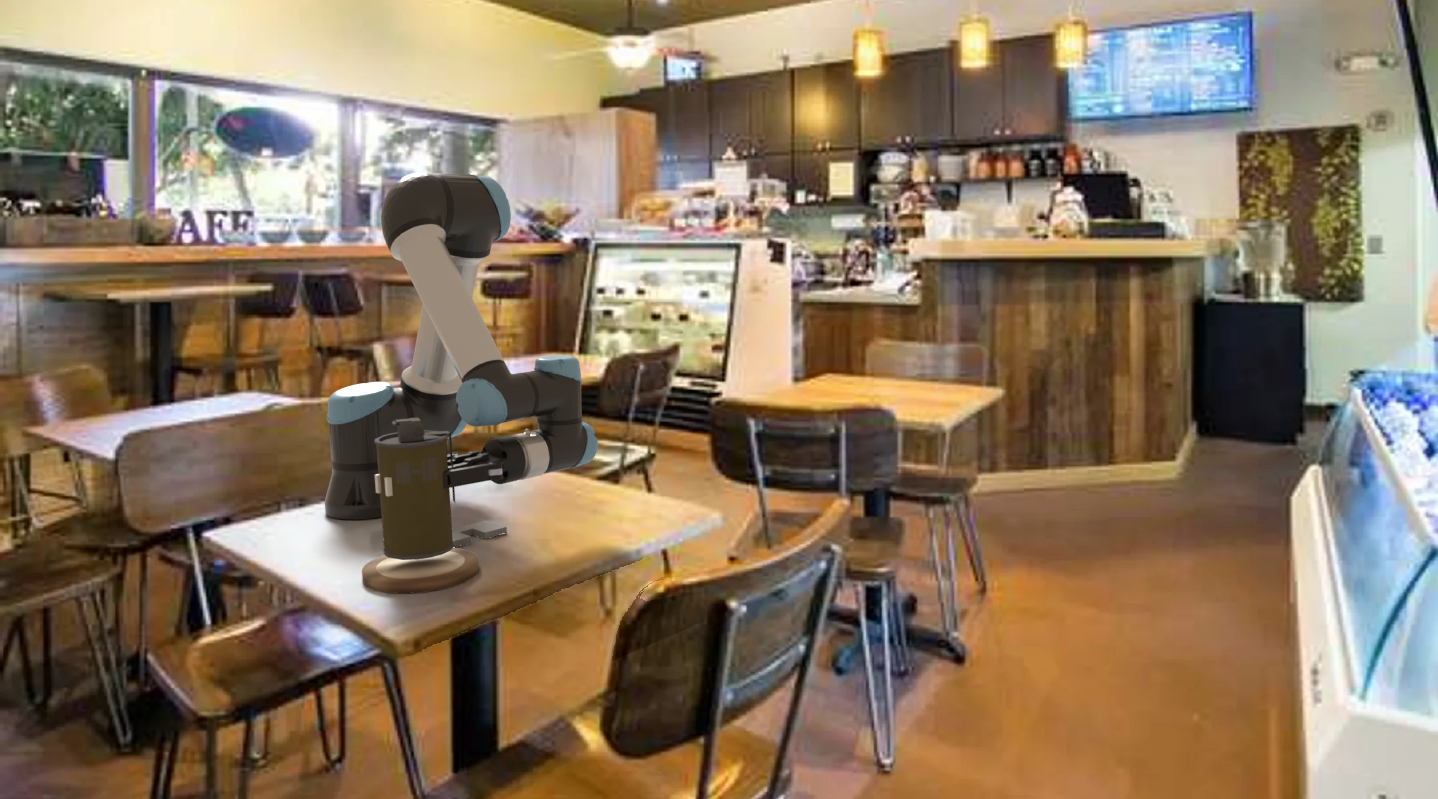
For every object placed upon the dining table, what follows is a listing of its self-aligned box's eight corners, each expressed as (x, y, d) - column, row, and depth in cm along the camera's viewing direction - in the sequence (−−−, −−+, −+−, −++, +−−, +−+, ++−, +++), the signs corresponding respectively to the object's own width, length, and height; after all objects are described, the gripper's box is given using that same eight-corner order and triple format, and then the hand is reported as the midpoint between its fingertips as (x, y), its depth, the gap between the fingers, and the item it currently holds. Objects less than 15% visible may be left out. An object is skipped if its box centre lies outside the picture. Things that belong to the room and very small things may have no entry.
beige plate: (341, 575, 152) (340, 565, 152) (439, 548, 164) (439, 539, 164) (400, 602, 140) (399, 591, 140) (500, 571, 153) (500, 561, 153)
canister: (386, 564, 145) (376, 428, 141) (379, 544, 154) (370, 417, 151) (462, 553, 149) (454, 422, 146) (451, 535, 158) (443, 411, 155)
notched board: (428, 542, 168) (428, 535, 167) (486, 526, 176) (486, 520, 176) (448, 549, 164) (447, 542, 163) (507, 533, 172) (506, 526, 172)
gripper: (485, 429, 167) (353, 453, 150) (541, 440, 157) (407, 468, 140) (488, 473, 169) (357, 501, 151) (543, 487, 158) (410, 519, 141)
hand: (381, 485), depth 146 cm, fingers closed on canister, 2 cm apart
